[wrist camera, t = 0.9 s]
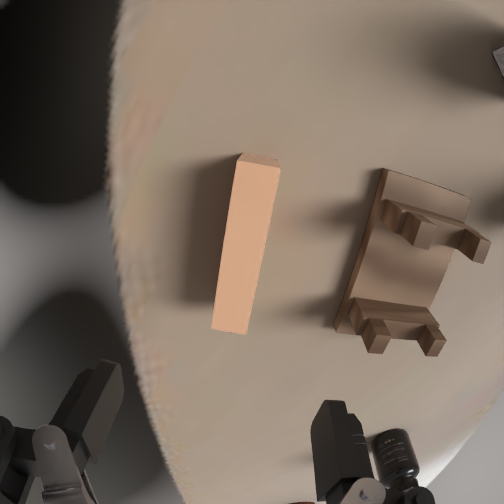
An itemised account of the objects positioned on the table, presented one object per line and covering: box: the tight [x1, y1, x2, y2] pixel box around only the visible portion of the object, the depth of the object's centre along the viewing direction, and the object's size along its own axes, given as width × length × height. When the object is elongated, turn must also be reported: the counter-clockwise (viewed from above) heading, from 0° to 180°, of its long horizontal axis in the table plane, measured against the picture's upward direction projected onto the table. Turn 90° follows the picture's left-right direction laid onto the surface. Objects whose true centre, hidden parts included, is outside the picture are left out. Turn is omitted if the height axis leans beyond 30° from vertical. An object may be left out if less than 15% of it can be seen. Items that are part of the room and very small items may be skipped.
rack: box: [334, 168, 492, 357], centre depth 26 cm, size 17×10×8 cm, turn 170°
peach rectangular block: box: [211, 153, 281, 335], centre depth 26 cm, size 14×3×6 cm, turn 170°
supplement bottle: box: [371, 429, 420, 492], centre depth 36 cm, size 7×7×12 cm
